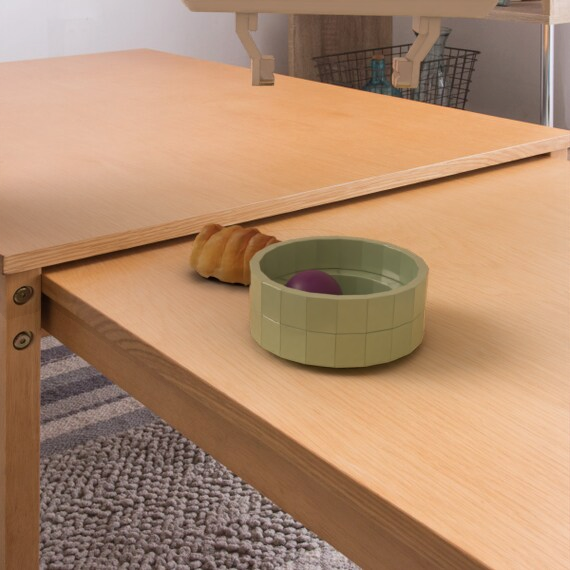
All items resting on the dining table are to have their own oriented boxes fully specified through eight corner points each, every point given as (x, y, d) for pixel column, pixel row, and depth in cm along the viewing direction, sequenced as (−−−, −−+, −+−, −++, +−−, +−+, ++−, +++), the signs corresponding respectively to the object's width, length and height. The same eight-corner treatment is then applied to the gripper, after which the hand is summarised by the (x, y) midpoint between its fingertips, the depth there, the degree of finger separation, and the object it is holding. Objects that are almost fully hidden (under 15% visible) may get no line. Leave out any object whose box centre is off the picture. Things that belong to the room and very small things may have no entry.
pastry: (316, 269, 79) (317, 226, 78) (286, 297, 73) (287, 252, 72) (217, 253, 82) (216, 212, 81) (181, 279, 77) (179, 236, 75)
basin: (255, 378, 61) (255, 301, 58) (245, 304, 72) (245, 237, 70) (441, 373, 62) (448, 296, 60) (402, 300, 73) (407, 234, 71)
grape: (316, 353, 65) (271, 316, 63) (309, 327, 69) (266, 291, 67) (361, 310, 64) (315, 271, 62) (350, 286, 68) (308, 248, 66)
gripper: (498, -138, 60) (475, 79, 65) (177, -149, 58) (180, 75, 63) (530, -143, 54) (502, 96, 59) (175, -155, 52) (178, 92, 57)
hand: (333, 85), depth 61 cm, fingers open, 8 cm apart
